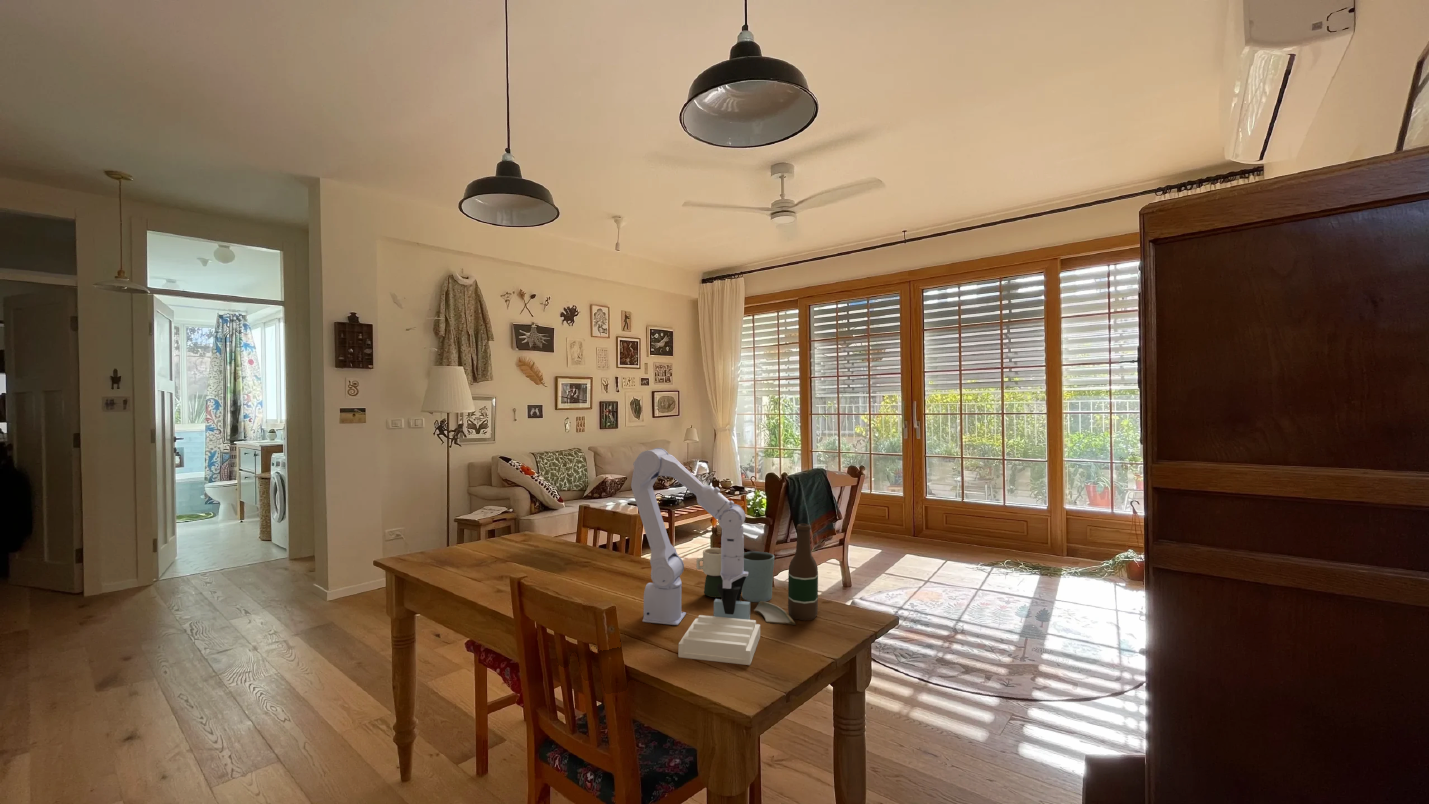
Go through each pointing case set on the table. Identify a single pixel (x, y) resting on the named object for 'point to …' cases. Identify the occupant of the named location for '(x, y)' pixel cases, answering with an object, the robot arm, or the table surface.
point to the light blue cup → (758, 576)
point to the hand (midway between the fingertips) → (732, 608)
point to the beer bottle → (803, 578)
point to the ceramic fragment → (773, 613)
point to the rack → (720, 640)
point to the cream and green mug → (711, 570)
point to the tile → (739, 613)
